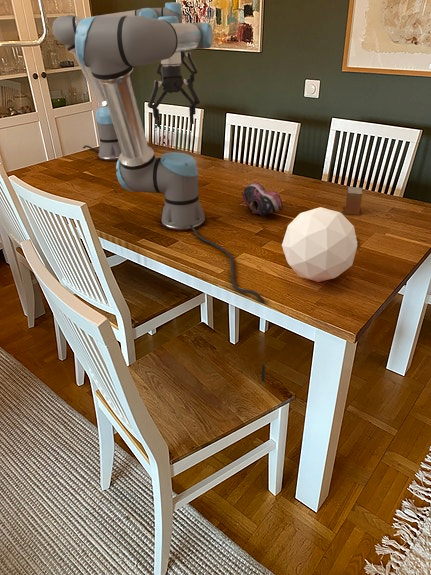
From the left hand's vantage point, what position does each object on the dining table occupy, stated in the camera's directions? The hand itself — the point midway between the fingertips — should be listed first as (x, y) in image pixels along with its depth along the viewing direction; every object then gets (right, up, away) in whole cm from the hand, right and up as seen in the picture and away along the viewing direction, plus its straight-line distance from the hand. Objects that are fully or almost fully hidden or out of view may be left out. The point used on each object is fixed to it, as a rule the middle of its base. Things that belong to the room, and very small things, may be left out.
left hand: (178, 89), depth 222 cm
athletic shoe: (+34, -71, -59) cm, 99 cm away
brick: (+68, -72, -61) cm, 116 cm away
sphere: (+47, -96, -98) cm, 145 cm away
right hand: (+3, -35, -47) cm, 59 cm away
